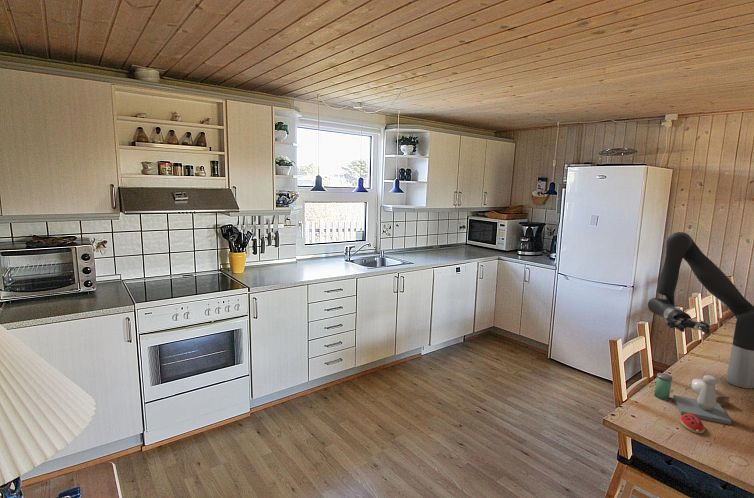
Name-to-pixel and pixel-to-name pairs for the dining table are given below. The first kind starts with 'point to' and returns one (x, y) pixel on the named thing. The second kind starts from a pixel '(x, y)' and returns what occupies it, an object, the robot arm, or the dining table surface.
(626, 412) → the dining table surface
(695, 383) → the white dome
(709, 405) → the salt shaker
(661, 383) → the dark green jar
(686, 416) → the ladybug figurine
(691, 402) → the cutting board
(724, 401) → the brown wooden block
